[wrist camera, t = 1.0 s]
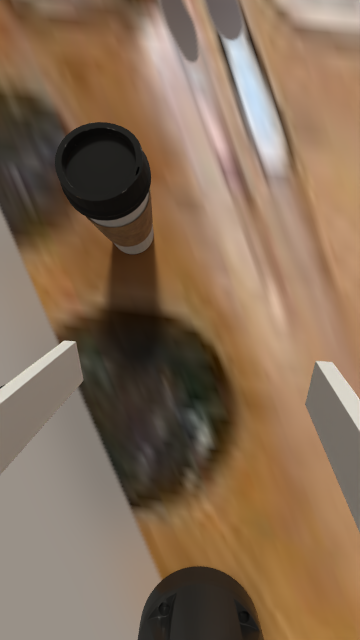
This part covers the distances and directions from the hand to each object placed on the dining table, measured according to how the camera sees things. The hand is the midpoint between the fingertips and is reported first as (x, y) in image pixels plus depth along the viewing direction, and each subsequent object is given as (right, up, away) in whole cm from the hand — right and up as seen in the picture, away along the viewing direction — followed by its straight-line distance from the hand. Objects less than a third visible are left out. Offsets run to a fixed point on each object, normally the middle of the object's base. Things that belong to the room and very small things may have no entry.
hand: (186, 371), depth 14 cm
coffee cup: (-7, +15, +22) cm, 28 cm away
